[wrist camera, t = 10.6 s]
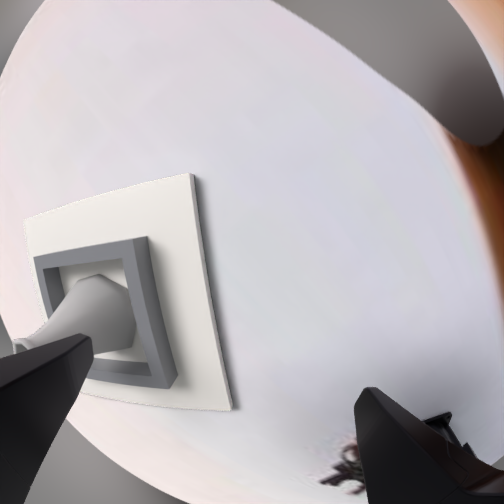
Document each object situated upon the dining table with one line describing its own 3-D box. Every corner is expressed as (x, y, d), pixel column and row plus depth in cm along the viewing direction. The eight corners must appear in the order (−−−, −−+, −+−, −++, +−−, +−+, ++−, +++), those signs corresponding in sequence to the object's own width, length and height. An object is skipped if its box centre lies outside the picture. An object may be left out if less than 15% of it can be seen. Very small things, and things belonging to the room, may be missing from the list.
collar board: (193, 174, 20) (177, 168, 17) (232, 404, 23) (226, 426, 19) (29, 219, 22) (8, 221, 19) (74, 385, 25) (59, 398, 22)
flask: (143, 356, 22) (79, 425, 12) (82, 339, 22) (14, 387, 13) (135, 277, 20) (47, 322, 11) (72, 268, 21) (-12, 298, 11)
